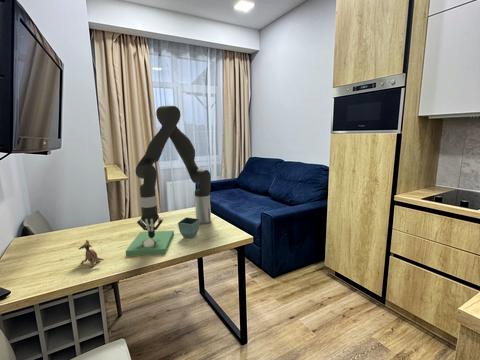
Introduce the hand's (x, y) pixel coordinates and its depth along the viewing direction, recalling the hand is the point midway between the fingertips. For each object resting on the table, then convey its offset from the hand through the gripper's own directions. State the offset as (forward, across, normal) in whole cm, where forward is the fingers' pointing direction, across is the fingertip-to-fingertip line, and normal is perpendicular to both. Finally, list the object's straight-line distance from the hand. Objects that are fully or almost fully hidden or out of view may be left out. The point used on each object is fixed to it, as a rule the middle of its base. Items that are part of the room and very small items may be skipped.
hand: (151, 237), depth 128 cm
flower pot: (+4, -18, -8) cm, 20 cm away
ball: (+1, 0, +6) cm, 6 cm away
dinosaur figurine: (+4, +22, +16) cm, 28 cm away
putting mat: (+4, 0, 0) cm, 4 cm away
